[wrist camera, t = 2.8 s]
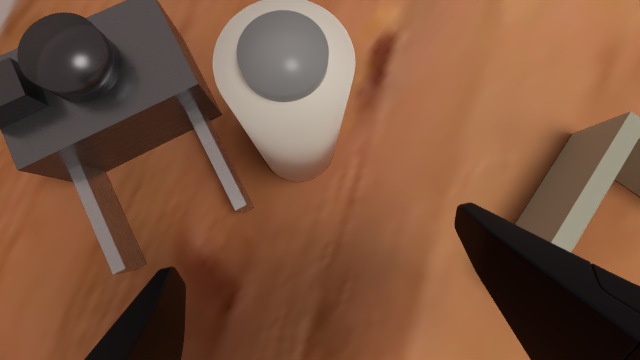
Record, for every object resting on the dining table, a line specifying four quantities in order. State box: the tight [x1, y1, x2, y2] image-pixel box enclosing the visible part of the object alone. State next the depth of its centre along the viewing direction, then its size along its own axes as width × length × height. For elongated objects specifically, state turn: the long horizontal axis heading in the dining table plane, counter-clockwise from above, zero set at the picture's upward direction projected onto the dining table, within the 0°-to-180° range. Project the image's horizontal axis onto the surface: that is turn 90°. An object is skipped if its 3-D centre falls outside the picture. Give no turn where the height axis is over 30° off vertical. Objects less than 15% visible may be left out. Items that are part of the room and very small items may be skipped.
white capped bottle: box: [213, 0, 355, 182], centre depth 17 cm, size 5×5×13 cm
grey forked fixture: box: [0, 0, 254, 275], centre depth 20 cm, size 14×11×7 cm
